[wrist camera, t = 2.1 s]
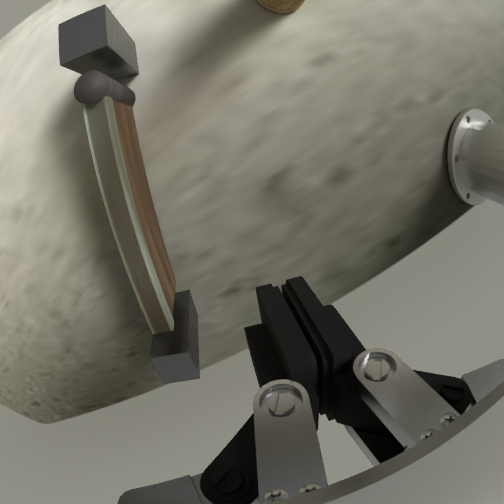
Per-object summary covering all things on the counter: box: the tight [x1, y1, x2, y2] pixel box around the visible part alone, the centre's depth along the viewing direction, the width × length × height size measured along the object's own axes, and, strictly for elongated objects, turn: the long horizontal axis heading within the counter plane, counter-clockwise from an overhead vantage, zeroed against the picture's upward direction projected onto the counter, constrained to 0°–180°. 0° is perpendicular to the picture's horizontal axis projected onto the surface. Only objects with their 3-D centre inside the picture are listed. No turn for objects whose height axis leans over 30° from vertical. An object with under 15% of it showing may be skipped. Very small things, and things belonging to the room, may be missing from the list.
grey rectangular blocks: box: [59, 5, 200, 384], centre depth 18 cm, size 3×26×8 cm, turn 9°
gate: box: [74, 70, 176, 334], centre depth 18 cm, size 3×18×8 cm, turn 9°
